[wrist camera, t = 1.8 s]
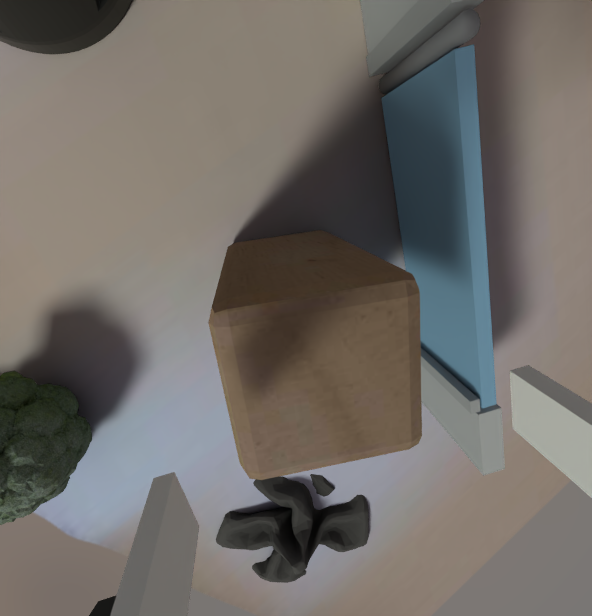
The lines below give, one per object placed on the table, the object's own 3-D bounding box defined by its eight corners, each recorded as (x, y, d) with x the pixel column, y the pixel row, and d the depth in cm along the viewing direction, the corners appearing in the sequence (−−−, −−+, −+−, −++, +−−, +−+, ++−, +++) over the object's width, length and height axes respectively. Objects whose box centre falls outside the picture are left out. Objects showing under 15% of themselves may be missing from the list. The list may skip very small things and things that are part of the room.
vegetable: (-82, 333, 30) (53, 385, 27) (35, 374, 42) (141, 414, 38) (-203, 483, 26) (-61, 572, 22) (-34, 483, 37) (78, 541, 33)
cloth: (393, 519, 49) (413, 563, 43) (288, 594, 51) (294, 646, 45) (291, 419, 42) (298, 456, 36) (173, 511, 43) (161, 560, 38)
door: (377, 77, 31) (455, 12, 19) (413, 68, 31) (511, -2, 20) (416, 349, 40) (485, 412, 28) (444, 340, 40) (524, 400, 29)
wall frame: (349, -21, 29) (428, -178, 16) (382, -29, 29) (485, -189, 17) (414, 401, 42) (484, 486, 30) (436, 394, 43) (515, 476, 30)
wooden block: (328, 227, 35) (428, 271, 16) (337, 322, 38) (429, 453, 19) (224, 242, 34) (201, 308, 15) (243, 339, 37) (243, 492, 18)
